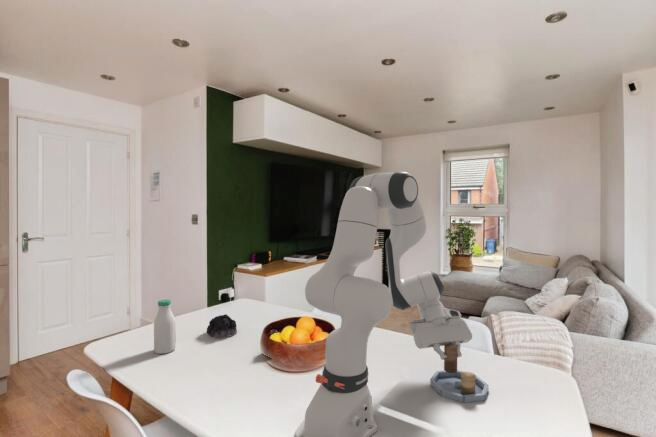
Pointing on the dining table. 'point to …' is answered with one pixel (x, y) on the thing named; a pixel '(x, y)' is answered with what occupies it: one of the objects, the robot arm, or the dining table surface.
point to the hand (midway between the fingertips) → (451, 357)
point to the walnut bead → (450, 358)
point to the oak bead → (468, 383)
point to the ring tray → (457, 386)
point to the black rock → (221, 327)
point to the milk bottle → (164, 329)
